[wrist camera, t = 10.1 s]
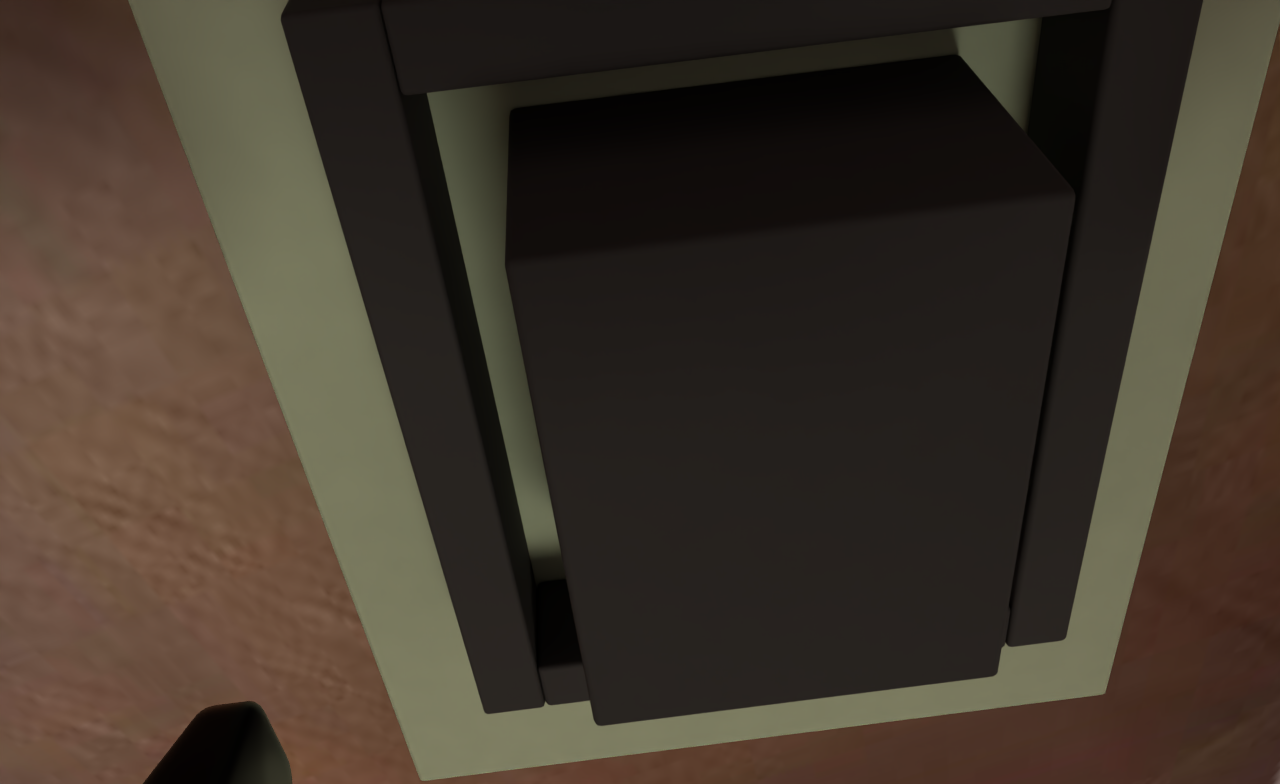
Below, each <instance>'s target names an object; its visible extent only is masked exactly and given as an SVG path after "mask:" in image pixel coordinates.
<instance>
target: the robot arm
mask: <svg viewBox="0 0 1280 784" xmlns="http://www.w3.org/2000/svg"><path fill="white" fill-rule="evenodd" d="M143 784H292V775H291V769H290V765H289V761H288V759H287V756H286V754H285V752H284V750H283V748H282V746H281V744H280V742H279V740H278V738H277V736H276V734H275V732H274V730H273V728H272V726H271V724H270V722H269V720H268V718H267V716H266V714H265V712H264V710H263V709H262V707H261V706H260V705H258V704H257V703H255V702H253V701H245V702H238V703H230V704H222V705H214V706H211V707H207V708H205V709H204V710H202V711H201V712H200V713H199V714H197V715H196V716H195V718H194V719H193V720H192V721H191V723H190V724H189V725H188V726H187V728H186V729H185V730H184V732H183V733H182V734H181V735H180V737H179V738H178V739H177V741H176V742H175V743H174V744H173V746H172V747H171V748H170V750H169V751H168V752H167V753H166V755H165V756H164V757H163V759H162V760H161V761H160V762H159V764H158V765H157V766H156V768H155V769H154V770H153V771H152V773H151V774H150V775H149V777H148V778H147V779H146V780H145V782H144V783H143Z"/></svg>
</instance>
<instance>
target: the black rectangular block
mask: <svg viewBox="0 0 1280 784" xmlns="http://www.w3.org/2000/svg"><path fill="white" fill-rule="evenodd" d="M1074 204H1075V192H1074V189H1073V188H1072V187H1071V186H1070V185H1069V183H1068V182H1067V181H1066V180H1065V179H1064V177H1063V176H1062V175H1061V174H1060V173H1059V172H1058V170H1057V169H1056V168H1055V167H1054V166H1053V164H1052V163H1051V162H1050V161H1049V160H1048V159H1047V157H1046V156H1045V155H1044V154H1043V153H1042V152H1041V150H1040V149H1039V148H1038V147H1037V146H1036V144H1035V143H1034V142H1033V141H1032V140H1031V139H1030V137H1029V136H1028V135H1027V134H1026V133H1025V131H1024V130H1023V129H1022V128H1021V127H1020V126H1019V124H1018V123H1017V122H1016V121H1015V120H1014V119H1013V117H1012V116H1011V115H1010V114H1009V113H1008V111H1007V110H1006V109H1005V108H1004V107H1003V106H1002V104H1001V103H1000V102H999V101H998V100H997V98H996V97H995V96H994V95H993V94H992V93H991V91H990V90H989V89H988V88H987V87H986V86H985V84H984V83H983V82H982V81H981V80H980V78H979V77H978V76H977V75H976V74H975V73H974V71H973V70H972V69H971V68H970V67H969V65H968V64H967V63H966V62H965V61H964V60H963V58H962V57H961V56H959V55H947V56H939V57H931V58H923V59H914V60H906V61H898V62H890V63H882V64H874V65H865V66H857V67H849V68H841V69H833V70H824V71H816V72H808V73H800V74H792V75H783V76H775V77H767V78H759V79H751V80H742V81H734V82H726V83H718V84H710V85H701V86H693V87H685V88H677V89H669V90H661V91H652V92H644V93H636V94H628V95H620V96H611V97H603V98H595V99H587V100H579V101H570V102H562V103H554V104H546V105H538V106H529V107H521V108H515V109H513V110H511V111H510V115H509V141H508V174H507V208H506V241H505V269H506V274H507V279H508V285H509V290H510V295H511V300H512V305H513V310H514V315H515V320H516V325H517V331H518V336H519V341H520V346H521V351H522V356H523V361H524V366H525V372H526V377H527V382H528V387H529V392H530V397H531V402H532V407H533V412H534V418H535V423H536V428H537V433H538V438H539V443H540V448H541V453H542V459H543V464H544V469H545V474H546V479H547V484H548V489H549V494H550V499H551V505H552V510H553V515H554V520H555V525H556V530H557V535H558V540H559V545H560V551H561V556H562V561H563V566H564V571H565V576H566V581H567V586H568V592H569V597H570V602H571V607H572V612H573V617H574V622H575V627H576V632H577V638H578V643H579V648H580V653H581V658H582V663H583V668H584V673H585V679H586V684H587V689H588V694H589V699H590V704H591V709H592V714H593V719H594V721H595V723H596V724H597V725H598V726H606V725H614V724H622V723H630V722H638V721H646V720H654V719H662V718H669V717H677V716H685V715H693V714H701V713H709V712H717V711H725V710H733V709H741V708H749V707H757V706H764V705H772V704H780V703H788V702H796V701H804V700H812V699H820V698H828V697H836V696H844V695H851V694H859V693H867V692H875V691H883V690H891V689H899V688H907V687H915V686H923V685H931V684H939V683H946V682H954V681H962V680H970V679H978V678H986V677H993V676H995V675H996V674H997V673H998V667H999V661H1000V655H1001V649H1002V643H1003V637H1004V631H1005V625H1006V618H1007V612H1008V606H1009V600H1010V594H1011V588H1012V582H1013V576H1014V570H1015V564H1016V557H1017V551H1018V545H1019V539H1020V533H1021V527H1022V521H1023V515H1024V509H1025V503H1026V496H1027V490H1028V484H1029V478H1030V472H1031V466H1032V460H1033V454H1034V448H1035V442H1036V435H1037V429H1038V423H1039V417H1040V411H1041V405H1042V399H1043V393H1044V387H1045V381H1046V374H1047V368H1048V362H1049V356H1050V350H1051V344H1052V338H1053V332H1054V326H1055V320H1056V313H1057V307H1058V301H1059V295H1060V289H1061V283H1062V277H1063V271H1064V265H1065V259H1066V252H1067V246H1068V240H1069V234H1070V228H1071V222H1072V216H1073V210H1074Z"/></svg>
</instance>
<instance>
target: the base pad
mask: <svg viewBox="0 0 1280 784" xmlns="http://www.w3.org/2000/svg"><path fill="white" fill-rule="evenodd" d="M128 2H129V4H130V7H131V10H132V12H133V15H134V18H135V20H136V23H137V26H138V28H139V31H140V34H141V36H142V39H143V42H144V44H145V47H146V50H147V52H148V55H149V58H150V60H151V63H152V66H153V68H154V71H155V74H156V76H157V79H158V82H159V84H160V87H161V90H162V92H163V95H164V98H165V100H166V103H167V106H168V108H169V111H170V114H171V116H172V119H173V122H174V124H175V127H176V130H177V132H178V135H179V138H180V140H181V143H182V146H183V148H184V151H185V154H186V156H187V159H188V162H189V164H190V167H191V170H192V172H193V175H194V178H195V180H196V183H197V186H198V188H199V191H200V194H201V196H202V199H203V202H204V204H205V207H206V210H207V212H208V215H209V218H210V220H211V223H212V226H213V228H214V231H215V234H216V236H217V239H218V242H219V244H220V247H221V250H222V252H223V255H224V258H225V260H226V263H227V266H228V268H229V271H230V274H231V276H232V279H233V282H234V284H235V287H236V290H237V292H238V295H239V298H240V300H241V303H242V306H243V308H244V311H245V314H246V316H247V319H248V322H249V324H250V327H251V330H252V332H253V335H254V338H255V340H256V343H257V346H258V348H259V351H260V354H261V356H262V359H263V362H264V364H265V367H266V370H267V372H268V375H269V378H270V380H271V383H272V386H273V388H274V391H275V394H276V396H277V399H278V402H279V404H280V407H281V410H282V412H283V415H284V418H285V420H286V423H287V426H288V428H289V431H290V434H291V436H292V439H293V442H294V444H295V447H296V450H297V452H298V455H299V458H300V460H301V463H302V466H303V468H304V471H305V474H306V476H307V479H308V482H309V484H310V487H311V490H312V492H313V495H314V498H315V500H316V503H317V506H318V508H319V511H320V514H321V516H322V519H323V522H324V524H325V527H326V530H327V532H328V535H329V538H330V540H331V543H332V546H333V548H334V551H335V554H336V556H337V559H338V562H339V564H340V567H341V570H342V572H343V575H344V578H345V580H346V583H347V586H348V588H349V591H350V594H351V596H352V599H353V602H354V604H355V607H356V610H357V612H358V615H359V618H360V620H361V623H362V626H363V628H364V631H365V634H366V636H367V639H368V642H369V644H370V647H371V650H372V652H373V655H374V658H375V660H376V663H377V666H378V668H379V671H380V674H381V676H382V679H383V682H384V684H385V687H386V690H387V692H388V695H389V698H390V700H391V703H392V706H393V708H394V711H395V714H396V716H397V719H398V722H399V724H400V727H401V730H402V732H403V735H404V738H405V740H406V743H407V746H408V748H409V751H410V754H411V756H412V759H413V762H414V764H415V767H416V770H417V772H418V775H419V778H420V780H422V781H427V780H435V779H443V778H450V777H458V776H466V775H474V774H482V773H490V772H498V771H505V770H513V769H521V768H529V767H537V766H545V765H553V764H560V763H568V762H576V761H584V760H592V759H600V758H608V757H615V756H623V755H631V754H639V753H647V752H655V751H663V750H670V749H678V748H686V747H694V746H702V745H710V744H718V743H725V742H733V741H741V740H749V739H757V738H765V737H773V736H780V735H788V734H796V733H804V732H812V731H820V730H828V729H835V728H843V727H851V726H859V725H867V724H875V723H883V722H890V721H898V720H906V719H914V718H922V717H930V716H938V715H945V714H953V713H961V712H969V711H977V710H985V709H993V708H1000V707H1008V706H1016V705H1024V704H1032V703H1040V702H1048V701H1055V700H1063V699H1071V698H1079V697H1087V696H1095V695H1102V694H1104V693H1105V691H1106V688H1107V684H1108V680H1109V676H1110V672H1111V668H1112V665H1113V661H1114V657H1115V653H1116V649H1117V645H1118V641H1119V638H1120V634H1121V630H1122V626H1123V622H1124V618H1125V615H1126V611H1127V607H1128V603H1129V599H1130V595H1131V592H1132V588H1133V584H1134V580H1135V576H1136V572H1137V568H1138V565H1139V561H1140V557H1141V553H1142V549H1143V545H1144V542H1145V538H1146V534H1147V530H1148V526H1149V522H1150V519H1151V515H1152V511H1153V507H1154V503H1155V499H1156V495H1157V492H1158V488H1159V484H1160V480H1161V476H1162V472H1163V469H1164V465H1165V461H1166V457H1167V453H1168V449H1169V446H1170V442H1171V438H1172V434H1173V430H1174V426H1175V423H1176V419H1177V415H1178V411H1179V407H1180V403H1181V399H1182V396H1183V392H1184V388H1185V384H1186V380H1187V376H1188V373H1189V369H1190V365H1191V361H1192V357H1193V353H1194V350H1195V346H1196V342H1197V338H1198V334H1199V330H1200V326H1201V323H1202V319H1203V315H1204V311H1205V307H1206V303H1207V300H1208V296H1209V292H1210V288H1211V284H1212V280H1213V277H1214V273H1215V269H1216V265H1217V261H1218V257H1219V253H1220V250H1221V246H1222V242H1223V238H1224V234H1225V230H1226V227H1227V223H1228V219H1229V215H1230V211H1231V207H1232V204H1233V200H1234V196H1235V192H1236V188H1237V184H1238V180H1239V177H1240V173H1241V169H1242V165H1243V161H1244V157H1245V154H1246V150H1247V146H1248V142H1249V138H1250V134H1251V131H1252V127H1253V123H1254V119H1255V115H1256V111H1257V107H1258V104H1259V100H1260V96H1261V92H1262V88H1263V84H1264V81H1265V77H1266V73H1267V69H1268V65H1269V61H1270V58H1271V54H1272V50H1273V46H1274V42H1275V38H1276V34H1277V31H1278V27H1279V23H1280V0H128ZM947 55H959V56H961V57H962V58H963V60H964V61H965V62H966V63H967V64H968V65H969V67H970V68H971V69H972V70H973V71H974V73H975V74H976V75H977V76H978V77H979V78H980V80H981V81H982V82H983V83H984V84H985V86H986V87H987V88H988V89H989V90H990V91H991V93H992V94H993V95H994V96H995V97H996V98H997V100H998V101H999V102H1000V103H1001V104H1002V106H1003V107H1004V108H1005V109H1006V110H1007V111H1008V113H1009V114H1010V115H1011V116H1012V117H1013V119H1014V120H1015V121H1016V122H1017V123H1018V124H1019V126H1020V127H1021V128H1022V129H1023V130H1024V131H1025V133H1026V134H1027V135H1028V136H1029V137H1030V139H1031V140H1032V141H1033V142H1034V143H1035V144H1036V146H1037V147H1038V148H1039V149H1040V150H1041V152H1042V153H1043V154H1044V155H1045V156H1046V157H1047V159H1048V160H1049V161H1050V162H1051V163H1052V164H1053V166H1054V167H1055V168H1056V169H1057V170H1058V172H1059V173H1060V174H1061V175H1062V176H1063V177H1064V179H1065V180H1066V181H1067V182H1068V183H1069V185H1070V186H1071V187H1072V188H1073V189H1074V192H1075V204H1074V210H1073V216H1072V222H1071V228H1070V234H1069V240H1068V246H1067V252H1066V259H1065V265H1064V271H1063V277H1062V283H1061V289H1060V295H1059V301H1058V307H1057V313H1056V320H1055V326H1054V332H1053V338H1052V344H1051V350H1050V356H1049V362H1048V368H1047V374H1046V381H1045V387H1044V393H1043V399H1042V405H1041V411H1040V417H1039V423H1038V429H1037V435H1036V442H1035V448H1034V454H1033V460H1032V466H1031V472H1030V478H1029V484H1028V490H1027V496H1026V503H1025V509H1024V515H1023V521H1022V527H1021V533H1020V539H1019V545H1018V551H1017V557H1016V564H1015V570H1014V576H1013V582H1012V588H1011V594H1010V600H1009V606H1008V612H1007V618H1006V625H1005V631H1004V637H1003V643H1002V649H1001V655H1000V661H999V667H998V673H997V674H996V675H995V676H993V677H986V678H978V679H970V680H962V681H954V682H946V683H939V684H931V685H923V686H915V687H907V688H899V689H891V690H883V691H875V692H867V693H859V694H851V695H844V696H836V697H828V698H820V699H812V700H804V701H796V702H788V703H780V704H772V705H764V706H757V707H749V708H741V709H733V710H725V711H717V712H709V713H701V714H693V715H685V716H677V717H669V718H662V719H654V720H646V721H638V722H630V723H622V724H614V725H606V726H598V725H597V724H596V723H595V721H594V719H593V714H592V709H591V704H590V699H589V694H588V689H587V684H586V679H585V673H584V668H583V663H582V658H581V653H580V648H579V643H578V638H577V632H576V627H575V622H574V617H573V612H572V607H571V602H570V597H569V592H568V586H567V581H566V576H565V571H564V566H563V561H562V556H561V551H560V545H559V540H558V535H557V530H556V525H555V520H554V515H553V510H552V505H551V499H550V494H549V489H548V484H547V479H546V474H545V469H544V464H543V459H542V453H541V448H540V443H539V438H538V433H537V428H536V423H535V418H534V412H533V407H532V402H531V397H530V392H529V387H528V382H527V377H526V372H525V366H524V361H523V356H522V351H521V346H520V341H519V336H518V331H517V325H516V320H515V315H514V310H513V305H512V300H511V295H510V290H509V285H508V279H507V274H506V269H505V241H506V208H507V174H508V141H509V115H510V111H511V110H513V109H515V108H521V107H529V106H538V105H546V104H554V103H562V102H570V101H579V100H587V99H595V98H603V97H611V96H620V95H628V94H636V93H644V92H652V91H661V90H669V89H677V88H685V87H693V86H701V85H710V84H718V83H726V82H734V81H742V80H751V79H759V78H767V77H775V76H783V75H792V74H800V73H808V72H816V71H824V70H833V69H841V68H849V67H857V66H865V65H874V64H882V63H890V62H898V61H906V60H914V59H923V58H931V57H939V56H947Z"/></svg>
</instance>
